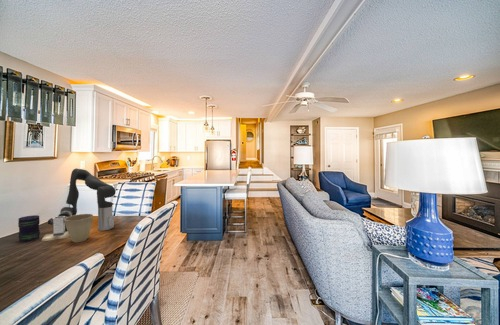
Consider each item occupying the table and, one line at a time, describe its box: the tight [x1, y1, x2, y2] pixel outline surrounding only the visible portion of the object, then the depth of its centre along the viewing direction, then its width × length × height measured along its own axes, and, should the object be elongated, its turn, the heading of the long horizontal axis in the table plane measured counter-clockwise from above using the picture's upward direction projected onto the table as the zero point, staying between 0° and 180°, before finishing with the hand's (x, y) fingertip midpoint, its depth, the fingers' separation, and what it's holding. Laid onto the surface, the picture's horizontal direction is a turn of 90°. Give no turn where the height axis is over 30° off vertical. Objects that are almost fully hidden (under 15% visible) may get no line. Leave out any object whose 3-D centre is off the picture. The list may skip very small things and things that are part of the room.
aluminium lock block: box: [52, 216, 66, 237], centre depth 146 cm, size 5×6×12 cm
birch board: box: [41, 231, 70, 242], centre depth 146 cm, size 16×10×2 cm, turn 122°
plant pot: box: [64, 213, 94, 244], centre depth 140 cm, size 15×15×16 cm
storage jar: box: [17, 214, 41, 243], centre depth 140 cm, size 10×10×15 cm
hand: (59, 222), depth 146 cm, fingers open, 8 cm apart
